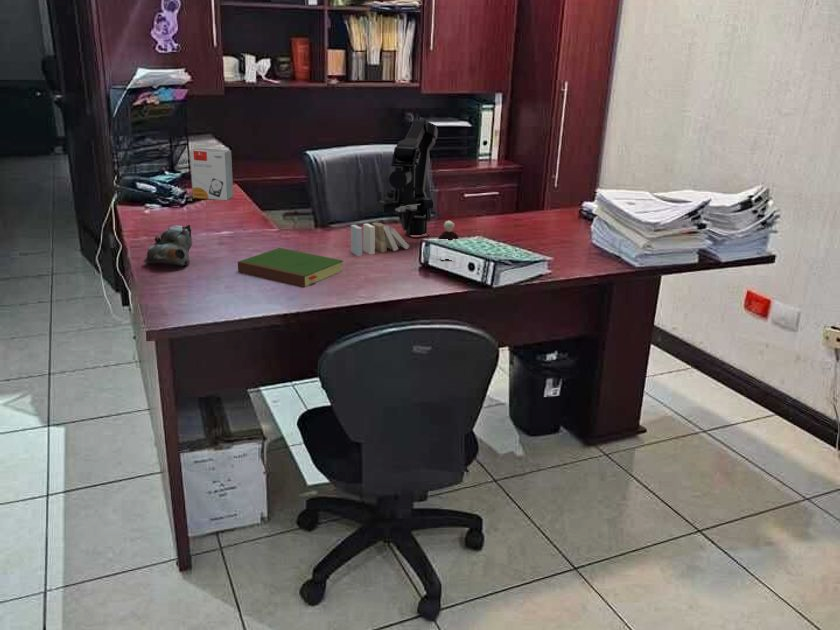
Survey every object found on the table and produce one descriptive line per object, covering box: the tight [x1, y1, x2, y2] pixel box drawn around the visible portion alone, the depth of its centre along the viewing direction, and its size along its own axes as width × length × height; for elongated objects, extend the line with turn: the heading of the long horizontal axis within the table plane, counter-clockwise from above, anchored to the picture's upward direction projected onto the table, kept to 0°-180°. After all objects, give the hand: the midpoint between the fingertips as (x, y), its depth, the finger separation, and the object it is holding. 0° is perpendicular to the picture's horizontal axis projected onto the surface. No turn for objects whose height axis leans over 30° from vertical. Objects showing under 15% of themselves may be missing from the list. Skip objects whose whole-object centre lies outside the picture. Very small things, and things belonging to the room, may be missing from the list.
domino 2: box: [362, 223, 376, 255], centre depth 238 cm, size 2×5×9 cm, turn 31°
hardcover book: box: [237, 247, 344, 288], centre depth 218 cm, size 25×19×4 cm
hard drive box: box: [189, 147, 234, 201], centre depth 307 cm, size 16×8×20 cm, turn 81°
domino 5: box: [385, 224, 410, 250], centre depth 243 cm, size 2×5×9 cm
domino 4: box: [379, 222, 399, 252], centre depth 242 cm, size 2×5×9 cm, turn 30°
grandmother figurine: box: [437, 220, 460, 241], centre depth 232 cm, size 8×4×13 cm, turn 118°
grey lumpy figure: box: [142, 224, 193, 267], centre depth 220 cm, size 15×12×14 cm
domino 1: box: [350, 224, 363, 257], centre depth 236 cm, size 2×5×9 cm, turn 30°
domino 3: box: [371, 221, 388, 254], centre depth 240 cm, size 2×5×9 cm, turn 30°
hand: (405, 230), depth 244 cm, fingers closed
